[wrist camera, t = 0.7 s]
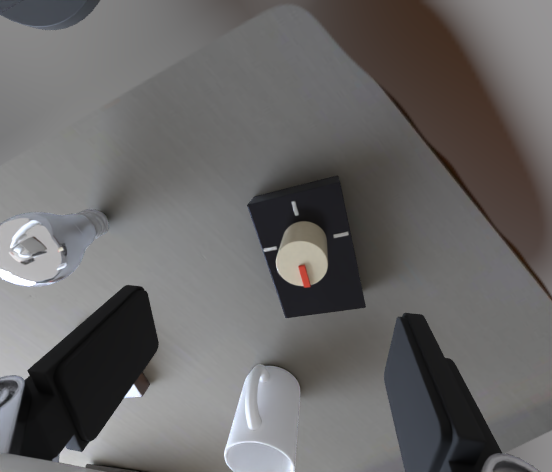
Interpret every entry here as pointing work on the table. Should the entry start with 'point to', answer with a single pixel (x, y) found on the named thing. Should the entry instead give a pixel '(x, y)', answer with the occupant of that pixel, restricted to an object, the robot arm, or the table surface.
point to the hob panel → (341, 257)
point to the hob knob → (303, 254)
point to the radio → (107, 468)
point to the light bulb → (46, 245)
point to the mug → (265, 423)
